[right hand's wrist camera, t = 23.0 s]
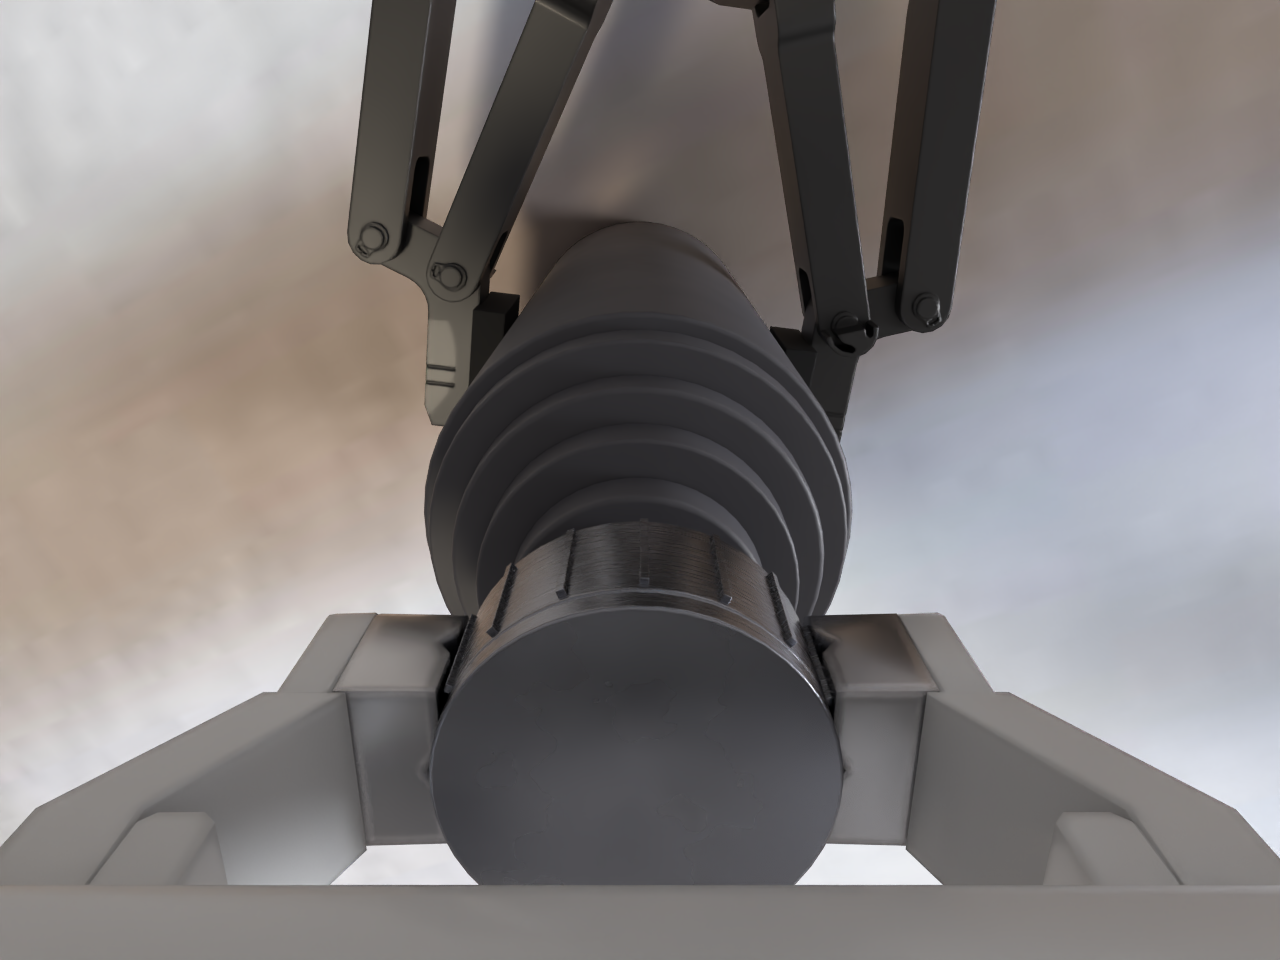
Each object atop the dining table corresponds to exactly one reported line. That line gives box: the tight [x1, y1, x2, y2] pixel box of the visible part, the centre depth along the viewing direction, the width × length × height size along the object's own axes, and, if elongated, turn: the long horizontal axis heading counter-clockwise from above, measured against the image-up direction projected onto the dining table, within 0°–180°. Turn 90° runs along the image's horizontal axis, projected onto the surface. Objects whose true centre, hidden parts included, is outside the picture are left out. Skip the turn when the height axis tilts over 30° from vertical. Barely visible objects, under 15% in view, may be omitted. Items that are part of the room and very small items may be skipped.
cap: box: [429, 519, 844, 885], centre depth 9 cm, size 4×4×2 cm
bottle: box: [424, 222, 852, 626], centre depth 18 cm, size 7×7×21 cm
